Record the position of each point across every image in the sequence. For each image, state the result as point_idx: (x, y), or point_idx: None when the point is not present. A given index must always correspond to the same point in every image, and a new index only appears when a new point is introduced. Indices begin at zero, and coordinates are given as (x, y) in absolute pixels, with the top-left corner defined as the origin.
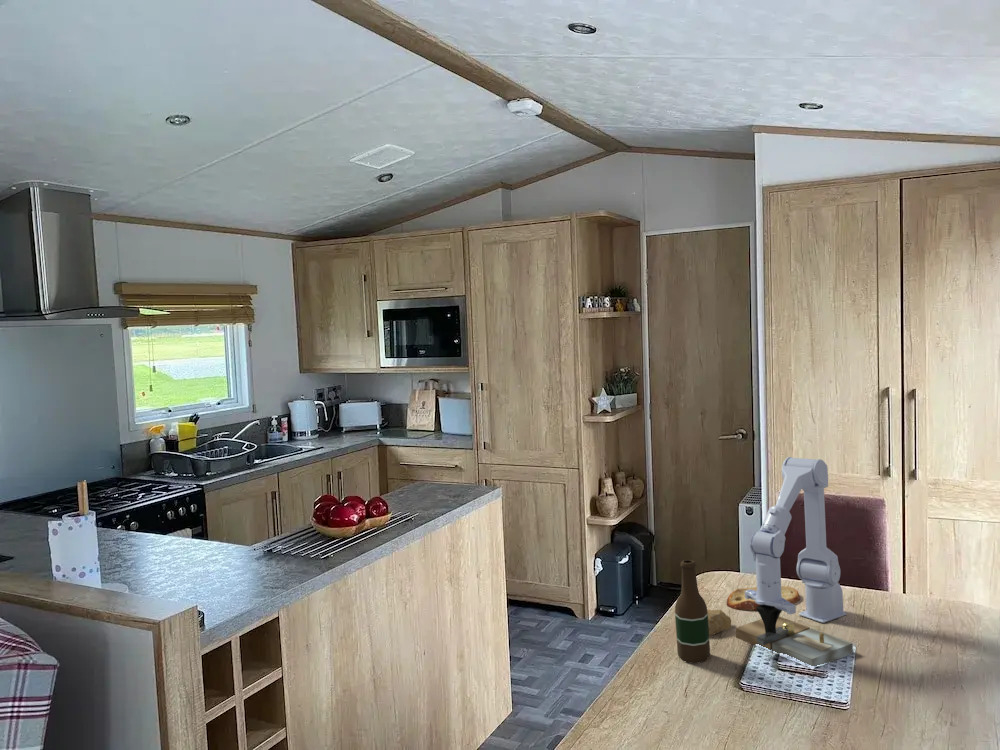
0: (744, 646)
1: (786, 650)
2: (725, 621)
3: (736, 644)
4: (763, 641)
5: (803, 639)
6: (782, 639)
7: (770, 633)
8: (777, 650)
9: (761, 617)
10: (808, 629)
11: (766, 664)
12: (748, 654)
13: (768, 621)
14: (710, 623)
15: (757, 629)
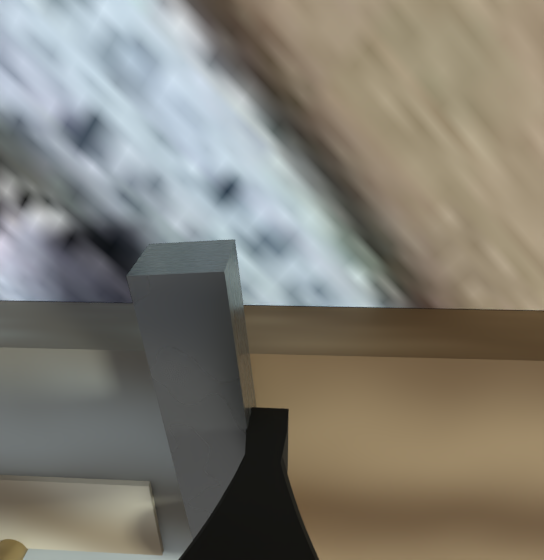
0: (442, 239)
1: (43, 339)
2: None
3: (522, 219)
4: (137, 263)
5: (102, 516)
6: None
7: (199, 416)
8: None
9: (307, 554)
10: None
11: (63, 113)
12: (307, 145)
13: (203, 532)
14: None
15: (469, 454)
